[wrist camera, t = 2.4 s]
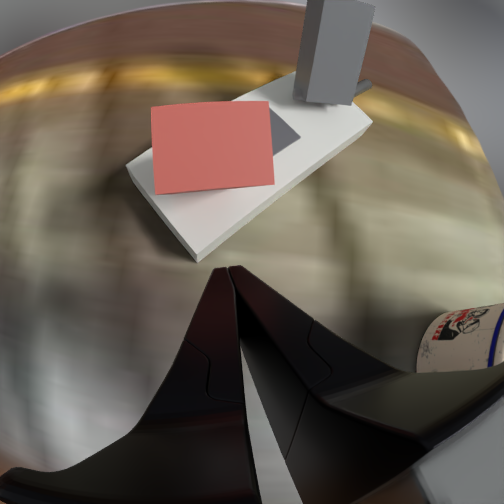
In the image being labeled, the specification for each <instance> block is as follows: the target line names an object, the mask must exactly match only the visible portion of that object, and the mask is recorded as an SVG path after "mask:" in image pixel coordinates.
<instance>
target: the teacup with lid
mask: <svg viewBox="0 0 504 504" xmlns="http://www.w3.org/2000/svg"><path fill="white" fill-rule="evenodd" d="M503 361H504V303H501V304H496V305H490V306H484V307H478V308H471V309H465V310H458V311H451V312H446V313H444V314H442V315H440V316H439V317H437V318H436V319H435V320H434V321H433V322H432V323H431V324H430V326H429V327H428V329H427V330H426V332H425V334H424V336H423V338H422V341H421V344H420V347H419V351H418V356H417V373H426V372H450V371H465V370H477V369H484V368H488V367H492V366H495V365H498V364H500V363H501V362H503Z"/></svg>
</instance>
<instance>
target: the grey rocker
mask: <svg viewBox="0 0 504 504" xmlns="http://www.w3.org/2000/svg"><path fill="white" fill-rule="evenodd" d="M374 10H375V6H373V5H370V4H366V3H363V2H360V1H357V0H307V6H306V13H305V19H304V26H303V32H302V38H301V44H300V51H299V57H298V63H297V69H296V75H295V81H294V87H293V88H294V89H293V93H292V96H293V99H294V100H301V101H306V102H318V103H329V104H339V105H348V106H351V105H352V101H353V97H354V94H355V90H356V86H357V82H358V78H359V74H360V70H361V67H362V63H363V58H364V54H365V50H366V46H367V42H368V38H369V33H370V29H371V24H372V20H373V15H374Z"/></svg>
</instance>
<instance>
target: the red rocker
mask: <svg viewBox="0 0 504 504" xmlns="http://www.w3.org/2000/svg"><path fill="white" fill-rule="evenodd" d="M151 127H152V153H153V171H154V185H155V195H166V194H180V193H190V192H200V191H211V190H223V189H236V188H245V187H255V186H266V185H275V180H274V165H273V151H272V137H271V124H270V112H269V101H220V102H201V103H186V104H175V105H165V106H156V107H151Z"/></svg>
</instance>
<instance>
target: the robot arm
mask: <svg viewBox="0 0 504 504" xmlns="http://www.w3.org/2000/svg"><path fill="white" fill-rule="evenodd" d="M240 346H241V348H242V351H243V354H244V357H245V360H246V362H247V365H248V368H249V370H250V373H251V376H252V379H253V381H254V384H255V387H256V389H257V392H258V395H259V397H260V400H261V402H262V405H263V408H264V410H265V413H266V415H267V418H268V420H269V423H270V425H271V428H272V431H273V433H274V436H275V438H276V441H277V443H278V445H279V448H280V450H281V453H282V455H283V458H284V460H285V463H286V465H287V467H288V470H289V472H290V475H291V477H292V479H293V482H294V484H295V486H296V489H297V491H298V493H299V495H300V498H301V500H302V502H303V504H504V361H503V362H501V363H500V364H498V365H495V366H492V367H488V368H484V369H477V370H465V371H450V372H426V373H413V372H406V371H402V370H399V369H397V368H394V367H392V366H390V365H388V364H386V363H385V362H383V361H381V360H379V359H377V358H376V357H374V356H372V355H370V354H368V353H367V352H365V351H363V350H361V349H360V348H358V347H356V346H354V345H353V344H351V343H349V342H348V341H346V340H344V339H343V338H341V337H339V336H338V335H336V334H335V333H333V332H332V331H330V330H329V329H327V328H326V327H324V326H323V325H322V324H320V323H319V322H318V321H316V320H314V319H313V318H312V317H311V316H309V315H308V314H307V313H305V312H304V311H302V310H301V309H300V308H298V307H297V306H296V305H294V304H293V303H292V302H290V301H289V300H287V299H286V298H285V297H283V296H282V295H281V294H279V293H278V292H277V291H275V290H274V289H273V288H271V287H270V286H269V285H267V284H266V283H265V282H263V281H262V280H260V279H259V278H258V277H256V276H255V275H254V274H252V273H251V272H250V271H248V270H247V269H246V268H244V267H243V266H241V265H237V266H230V267H228V268H227V267H220V268H214V269H213V271H212V273H211V275H210V278H209V280H208V282H207V285H206V287H205V289H204V292H203V294H202V296H201V299H200V301H199V303H198V306H197V308H196V311H195V313H194V315H193V318H192V320H191V322H190V325H189V327H188V330H187V332H186V334H185V337H184V341H182V344H181V346H180V349H179V351H178V353H177V355H176V358H175V360H174V362H173V364H172V366H171V368H170V370H169V372H168V373H167V375H166V377H165V379H164V381H163V382H162V384H161V386H160V387H159V389H158V391H157V392H156V394H155V396H154V397H153V399H152V401H151V402H150V404H149V406H148V407H147V409H146V411H145V412H144V414H143V416H142V417H141V419H140V420H139V422H138V423H137V424H136V426H135V427H134V428H133V429H132V430H131V431H130V432H129V433H128V434H126V435H125V436H123V437H122V438H120V439H119V440H117V441H115V442H114V443H112V444H110V445H109V446H107V447H105V448H104V449H102V450H100V451H99V452H97V453H95V454H94V455H92V456H90V457H88V458H87V459H85V460H83V461H81V462H80V463H78V464H76V465H74V466H72V467H70V468H67V469H64V470H60V471H56V472H40V471H36V470H31V469H27V468H22V467H14V468H11V469H10V470H8V471H7V472H6V473H4V474H3V475H1V476H0V501H2V502H4V503H6V504H262V500H261V495H260V490H259V485H258V480H257V474H256V469H255V463H254V458H253V452H252V446H251V441H250V435H249V429H248V422H247V413H246V403H245V393H244V382H243V372H242V361H241V349H240Z"/></svg>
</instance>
